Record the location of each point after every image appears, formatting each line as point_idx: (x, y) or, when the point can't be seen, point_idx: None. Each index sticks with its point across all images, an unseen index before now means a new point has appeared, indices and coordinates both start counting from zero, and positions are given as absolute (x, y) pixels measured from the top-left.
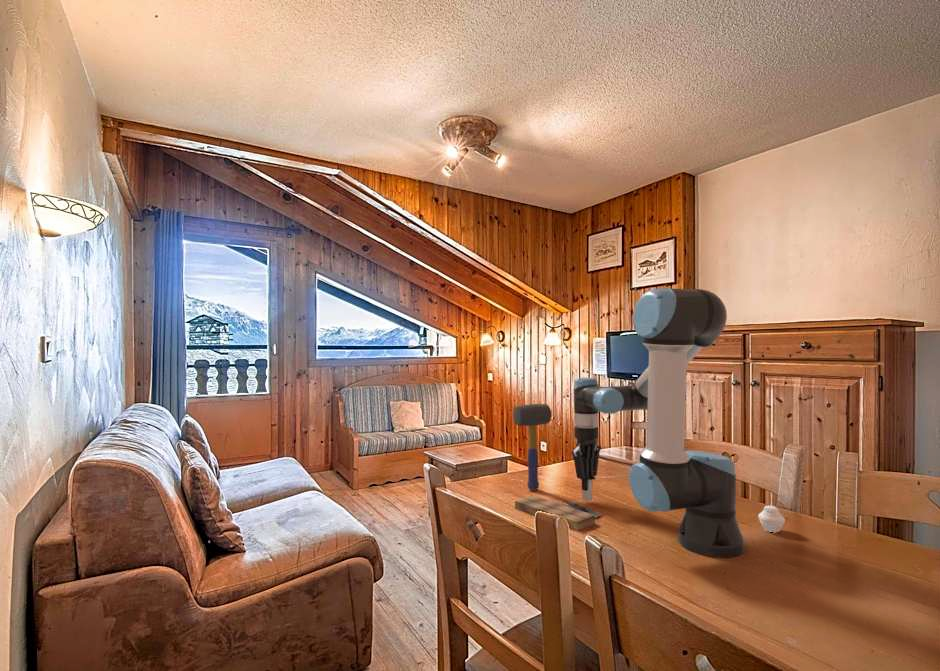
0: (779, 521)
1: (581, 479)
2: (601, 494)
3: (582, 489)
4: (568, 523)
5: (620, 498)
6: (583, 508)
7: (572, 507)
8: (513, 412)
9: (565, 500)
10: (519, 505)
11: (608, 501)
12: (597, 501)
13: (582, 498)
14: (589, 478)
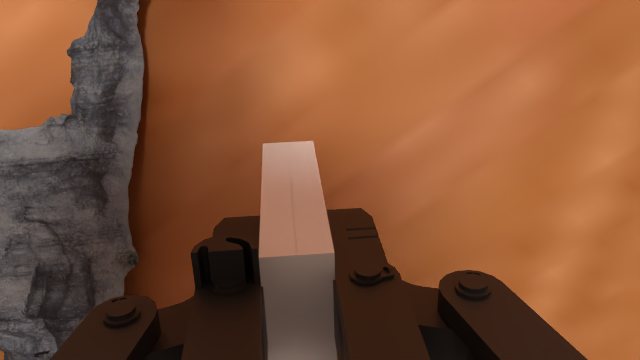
0: None
1: (189, 305)
2: (624, 91)
3: (221, 227)
4: None
5: (618, 266)
6: (89, 288)
7: (51, 180)
8: None
9: (120, 8)
10: None
11: (475, 252)
12: (405, 195)
13: (264, 147)
14: (335, 335)
